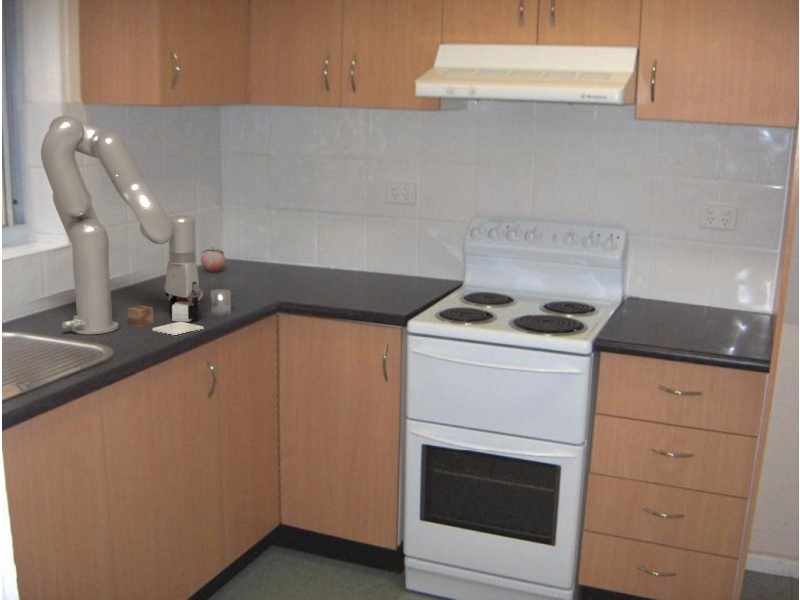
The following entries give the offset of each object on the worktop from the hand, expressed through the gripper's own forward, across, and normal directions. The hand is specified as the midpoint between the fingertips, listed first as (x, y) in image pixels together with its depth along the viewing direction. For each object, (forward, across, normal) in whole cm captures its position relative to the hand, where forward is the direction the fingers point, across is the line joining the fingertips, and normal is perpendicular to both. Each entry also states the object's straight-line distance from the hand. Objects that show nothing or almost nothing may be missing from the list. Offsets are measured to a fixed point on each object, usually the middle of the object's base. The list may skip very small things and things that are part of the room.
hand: (183, 315), depth 261 cm
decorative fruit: (+1, -52, +59) cm, 78 cm away
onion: (+2, -12, +11) cm, 16 cm away
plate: (+2, +7, -8) cm, 11 cm away
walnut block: (+2, -7, -10) cm, 12 cm away
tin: (+1, +1, +14) cm, 14 cm away
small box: (+1, 0, 0) cm, 1 cm away
